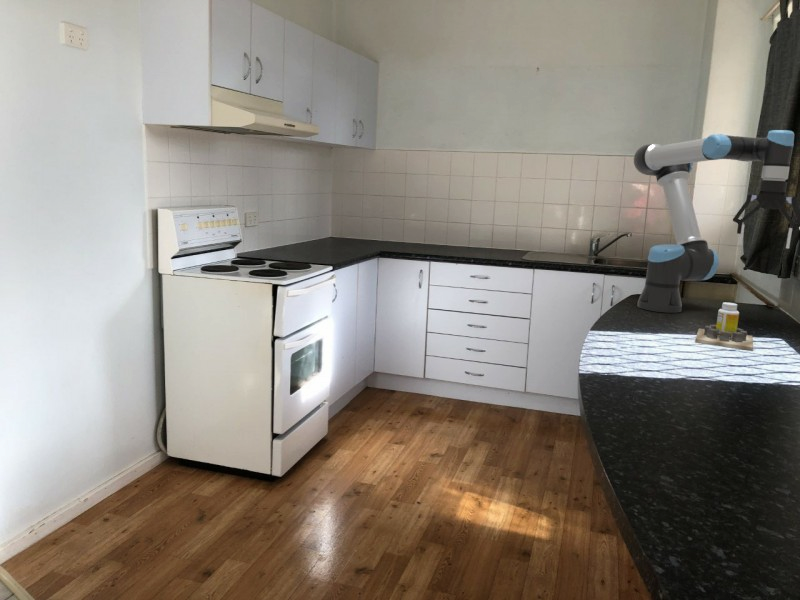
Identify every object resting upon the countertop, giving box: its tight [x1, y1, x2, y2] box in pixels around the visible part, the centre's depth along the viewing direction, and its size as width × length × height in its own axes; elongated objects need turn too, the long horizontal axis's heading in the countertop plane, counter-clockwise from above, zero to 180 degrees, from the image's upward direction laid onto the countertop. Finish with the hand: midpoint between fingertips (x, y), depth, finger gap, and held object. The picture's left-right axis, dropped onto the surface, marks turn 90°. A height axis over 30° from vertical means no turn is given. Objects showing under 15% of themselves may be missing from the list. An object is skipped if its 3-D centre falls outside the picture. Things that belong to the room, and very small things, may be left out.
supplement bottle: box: [715, 301, 740, 339], centre depth 197 cm, size 6×6×10 cm
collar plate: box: [694, 324, 754, 351], centre depth 198 cm, size 15×17×4 cm
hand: (763, 246), depth 218 cm, fingers open, 13 cm apart
